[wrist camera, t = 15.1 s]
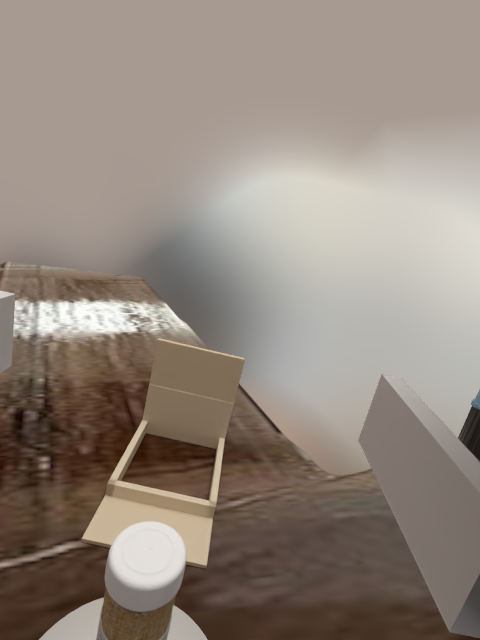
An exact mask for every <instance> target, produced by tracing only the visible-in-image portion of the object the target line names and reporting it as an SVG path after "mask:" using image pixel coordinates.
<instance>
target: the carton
mask: <svg viewBox="0 0 480 640" xmlns="http://www.w3.org/2000/svg"><path fill="white" fill-rule="evenodd" d="M244 361H245V358H241V357H237V356H232V355H228V354H223V353H220V352H215V351H211V350H207V349H202V348H198V347H194V346H190V345H185V344H181V343H177V342H172V341H168V340H164V339H158V341H157V346H156V351H155V357H154V362H153V367H152V373H151V378H150V384H149V388H148V394H147V399H146V405H145V410H144V415H143V420H142V422H141V424H140V426H139V428H138V429H137V431H136V433H135V435H134V437H133V438H132V440H131V442H130V444H129V446H128V447H127V449H126V451H125V453H124V455H123V456H122V458H121V460H120V462H119V463H118V465H117V467H116V469H115V471H114V472H113V474H112V476H111V478H110V480H109V481H108V483H107V489H106V495H105V497H104V499H103V500H102V502H101V504H100V506H99V508H98V510H97V512H96V513H95V515H94V517H93V519H92V521H91V523H90V524H89V526H88V528H87V530H86V532H85V534H84V536H83V537H82V541H81V542H85V543H90V544H94V545H99V546H103V547H108V548H110V547H111V545H112V543H113V541H114V540H115V538H116V537H117V536H118V535H119V534H120V533H121V532H122V531H123V530H124V529H126V528H127V527H129V526H131V525H133V524H136V523H140V522H146V521H154V522H159V523H163V524H166V525H168V526H170V527H171V528H173V529H174V530H175V531H176V532H177V533H178V534H179V535H180V536H181V538H182V539H183V541H184V544H185V546H186V552H187V558H186V564H187V565H191V566H196V567H200V568H205V569H206V566H207V559H208V552H209V544H210V537H211V529H212V522H213V516H214V513H215V509H216V502H217V495H218V487H219V479H220V471H221V464H222V456H223V448H224V440H225V436H226V432H227V428H228V424H229V420H230V416H231V412H232V408H233V404H234V400H235V396H236V392H237V388H238V385H239V381H240V377H241V373H242V369H243V365H244ZM145 433H147V434H152V435H156V436H161V437H165V438H170V439H174V440H178V441H183V442H187V443H192V444H196V445H201V446H205V447H210V448H214V449H217V450H216V457H215V463H214V469H213V475H212V482H211V488H210V494H209V501H208V500H204V499H199V498H195V497H190V496H186V495H181V494H177V493H172V492H168V491H163V490H159V489H154V488H149V487H145V486H140V485H136V484H131V483H127V482H122V481H121V480H122V478H123V476H124V475H125V473H126V471H127V469H128V467H129V465H130V463H131V461H132V459H133V457H134V455H135V453H136V451H137V449H138V447H139V445H140V443H141V441H142V439H143V437H144V435H145Z"/></svg>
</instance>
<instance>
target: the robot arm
mask: <svg viewBox="0 0 480 640" xmlns="http://www.w3.org/2000/svg"><path fill="white" fill-rule="evenodd" d="M14 306H15V294H13V293H8V292H4V291H0V373H1V372H3V371H4V370H6V369H8V368H9V367H11V364H12V344H13V325H14ZM471 405H472V407H471V410H470V412H469V414H468V417H467V419H466V421H465V423H464V426H463V428H462V430H461V433H460V435H459V437H458V438H457V437H456V436H455V435H454V434H453V433H452V432H451V431H450V429H449V428H448V427H447V426H446V425H445V424H444V423H443V422H442V421H441V420H440V419H439V417H438V416H437V415H436V414H435V413H434V412H433V411H432V410H431V409H430V408H429V407H428V406H427V405H426V404H425V402H424V401H423V400H422V399H421V398H420V397H419V396H418V395H417V394H416V393H415V392H414V391H413V389H412V388H410V386H409V385H408V384H407V383H406V382H405V381H404V380H403V379H402V378H397V377H392V376H388V375H383V374H382V375H381V378H380V381H379V383H378V386H377V389H376V392H375V395H374V397H373V400H372V403H371V406H370V409H369V412H368V414H367V417H366V420H365V423H364V426H363V429H362V431H361V434H360V437H359V443H360V445H361V447H362V449H363V451H364V453H365V455H366V457H367V459H368V462H369V464H370V466H371V468H372V470H373V472H374V474H375V476H376V478H377V481H378V483H379V485H380V487H381V489H382V491H383V493H384V495H385V497H386V499H387V502H388V504H389V506H390V508H391V510H392V512H393V514H394V516H395V518H396V521H397V523H398V525H399V527H400V529H401V531H402V533H403V535H404V537H405V540H406V542H407V544H408V546H409V548H410V550H411V552H412V554H413V556H414V558H415V561H416V563H417V565H418V567H419V569H420V571H421V573H422V575H423V577H424V580H425V582H426V584H427V586H428V588H429V590H430V592H431V594H432V596H433V599H434V601H435V603H436V605H437V607H438V609H439V611H440V613H441V615H442V618H443V620H444V622H445V624H446V626H447V628H448V630H449V632H452V633H457V634H462V635H467V636H472V637H477V638H480V390H479V392H478V394H477V396H476V398H475V399H474V400H473V401H472V403H471Z"/></svg>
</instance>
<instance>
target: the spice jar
mask: <svg viewBox="0 0 480 640" xmlns="http://www.w3.org/2000/svg"><path fill="white" fill-rule="evenodd" d="M186 558H187V552H186V546H185V544H184V541H183V539H182V538H181V536H180V535H179V534H178V533H177V532H176V531H175V530H174V529H173V528H171V527H170V526H168V525H166V524H163V523H159V522H154V521H146V522H140V523H136V524H133V525H131V526H129V527H127V528H126V529H124V530H123V531H122V532H121V533H120V534H119V535H118V536H117V537H116V538H115V540H114V541H113V543H112V545H111V547H110V551H109V555H108V559H107V565H106V571H105V585H106V591H105V596H104V602H103V606H102V609H101V614H100V619H99V626H98V632H97V637H96V640H167V637H168V633H169V629H170V624H171V619H172V610H173V605H174V600H175V596H176V594H177V592H178V590H179V588H180V586H181V583H182V579H183V574H184V570H185V565H186Z"/></svg>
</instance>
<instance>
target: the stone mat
mask: <svg viewBox="0 0 480 640" xmlns="http://www.w3.org/2000/svg"><path fill="white" fill-rule="evenodd" d="M103 602H104V598H101V599H98V600H95V601H92V602H90V603H88V604H86V605H83V606H81V607H80V608H78V609H76V610H74V611H73V612H71V613H69V614H68V615H67V616H65V617H64V618H63V619H61V620H60V621H58V622H57V623H56V624H55V625H54V626H53V627H51V628H50V629H49V630H48V631H47V632H46V633H45V634H44V635H43V636H42V637H41V638H40V639H39V640H96V637H97V632H98V626H99V619H100V614H101V609H102V606H103ZM167 640H207V638H206V637H205V635H204V634H203V632H202V631H201V629H200V628H199V627H198V626H197V625H196V623H195V622H194V621H193V620H192V619H191V618H190V617H189V616H188V615H186V614H185V613H184V612H183V611H182V610H180V609H179V608H177V607H176V606H174V605H173V610H172V619H171V624H170V629H169V633H168V637H167Z"/></svg>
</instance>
